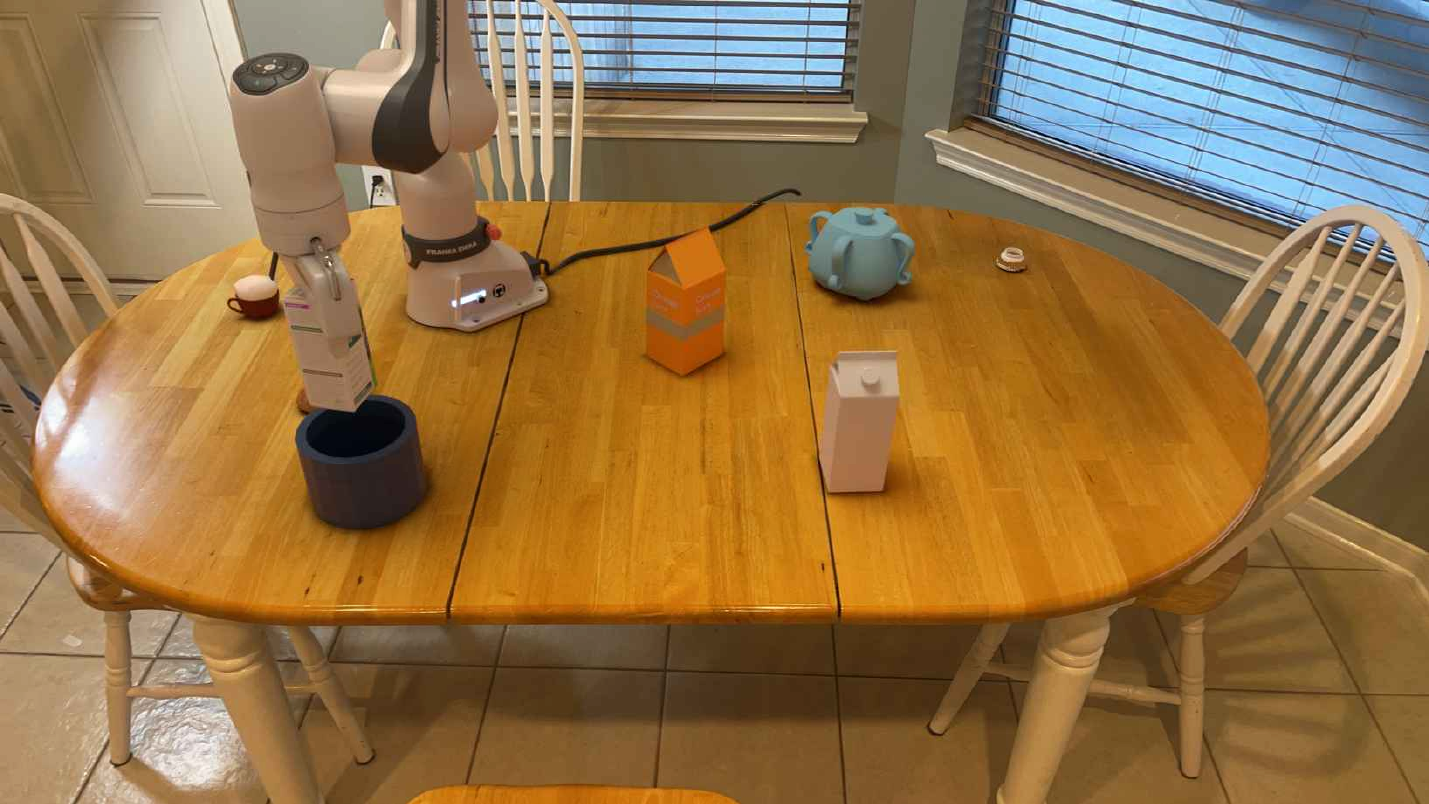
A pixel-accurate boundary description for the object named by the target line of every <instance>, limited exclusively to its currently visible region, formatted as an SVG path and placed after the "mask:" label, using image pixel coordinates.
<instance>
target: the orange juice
mask: <svg viewBox="0 0 1429 804" xmlns="http://www.w3.org/2000/svg"><path fill="white" fill-rule="evenodd" d="M708 226H709V225H707V226H704V227H702V228H699V229H700V230H699V229H697V230H698V231H696V230H694V231H695V232H693V233H691V234H689V235H686V236H684V237H682V238H679V239H677V240H675V241H673V242H668V243H665V244H664V246H662V249H661V250H660V251H659V253H658V254H657V256H656V257H655V258H654V260H653V261H652V262H651V264H650V265H649V266H648V268H647V269H646V274H645V275H646V307H645V309H646V311H645V312H646V313H645V315H646V316H645V317H646V319H645V320H646V357H647V358H649V359H651V360H653V361H654V362H656V363H658V364H660V365H661V366H663V367H665V368H667V369H668V370H671V371H672V372H673V373H676V374H677V375H679V376H681V377H684V376H686V375H687V374H689V373H691V372H693V371H695V370H697V369H698V368H700V367H702V366H703V365H705V364H707V363H709V362H711V361H712V360H715V359H717V358H718V357H720V356H721V355H723V349H724V327H725V316H726V315H725V312H726V285H727V284H726V283H727V268H726V267H725V263H724V262H723V259H722V257H721V255H720V252H719V249H718V248H717V244H716V243H715V241H714V237H713V235H712V233H711V231H710V230H709V228H708Z"/></svg>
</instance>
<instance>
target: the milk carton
mask: <svg viewBox="0 0 1429 804" xmlns="http://www.w3.org/2000/svg"><path fill="white" fill-rule="evenodd" d="M837 353H838V354H837V359H836V360H834V361H832V362H831V363H830V364H829V372H828V378H827V379H828V380H827V387H826V397H825V404H824V413H823V420H822V428H821V438H820V446H819V452H818V459H819V463H820V466H821V472H822V474H823V478H824V481H825V486H826V488H827V492H828V493H858V492H859V493H861V492H882V491H883V490H884V486H885V481H886V476H887V475H886V474H887V469H888V468H887V467H888V463H889V457H890V453H891V452H890V451H891V445H892V441H893V440H892V439H893V435H894V428H895V423H896V417H897V411H898V404H899V400H900V399H899V398H900V386H899V384H900V383H899V375H898V363H897V359H898V358H897V357H898V350H859V351H856V350H855V351H838V352H837Z"/></svg>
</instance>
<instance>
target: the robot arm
mask: <svg viewBox="0 0 1429 804" xmlns="http://www.w3.org/2000/svg"><path fill="white" fill-rule="evenodd" d="M382 4H383V9H384V12H385V16H386V17H387V19H388V21H389V22H390V24H391V26H392V27H393V30H394V32H395V34H396V37H397V41H398V44H399V47H400V49H399V48H376V49H372V50H371V51H368V52H367V53H366V54H365V55H363V56H362V57H361V58H360V60H359V61H358V63H357V65H356V67H355V68H354V70H351V69H344V68H338V67H329V66H328V67H327V66H318V65H317V66H315V65H312V64H311V63H310V62H309V60H307V58H305V57H303V56H301V55H298V54H295V53H291V52H270V53H264V54H261V55H257V56H254V57H251V58H249V59H247V60H245V61H243V62H242V63H240V65H238V66H237V67H236V68H235V69H234V70H233V71H232V73H231V77H230V83H229V95H230V110H231V118H232V124H233V129H234V134H235V139H236V145H237V148H238V153H239V157H240V160H241V163H242V164H243V167H245V169H246V171H247V173H248V175H249V179H250V200H251V205H252V208H253V213H254V217H255V221H256V225H257V229H258V233H259V236H260V241H261V244H262V245H263V246H264V247H265V248H266V249H267V250H270V251H271V252H277V254H278V256H279V258H278V259H279V260H280V262H281V264H282V266H283V268H284V269H285V271H286V273H287V274H288V276H289V278H290V280H291V281H292V283H293V285H294V286H296V285H297V286H298V287H299V289H300V290H301V292H302V293H303V295H304V296H305V298H306V302H307V306H308V308H309V310H310V311H311V313H312V315H313V316H314V318H315V320H316V321H317V323H318V325H319V327H320V328H321V330H322V332H323V333H324V335H325V337H326V338H327V341H328V345H329V349H330V352H331V354H332V355H333V357H334V358H335V359H339V358H343V357H347V356H348V355H349V354H350V350H349V345H348V339H349V337H353V336H356V335H359V334H360V333H361V329H362V324H361V319H360V314H359V310H358V306H357V301H356V297H355V293H354V289H353V286H352V282H351V279H350V278H351V276H350V272H349V271H348V268H347V266H346V264H345V263H344V261H343V260H342V259H341V257H340V255H339V254H338V253H339V252H340V251H341V249H342V244H343V243H344V242H346V241H347V239H348V238H349V237H350V236H351V233H352V228H351V222H350V216H349V212H348V207H347V202H346V196H345V191H344V186H343V183H342V181H341V179H340V178H339V175H338V173H337V171H336V166H335V165H336V164H341V165H353V166H363V167H374V168H382V169H384V170H389V171H391V172H392V175H393V178H394V182H395V185H396V186H395V187H396V190H397V191H396V192H397V196H398V202H399V208H400V214H401V218H402V224H401V227H400V230H401V244H402V251H403V255H404V259H405V261H406V263H407V271H408V272H407V273H408V274H407V275H408V281H407V282H408V283H407V297H406V302H405V312H406V314H407V315H408V317H410V318H411V319H412V320H414V321H415V322H417V323H419V324H422V325H426V326H429V327H435V328H449V329H456V330H459V331H464V332H468V333H471V332H476V331H479V330H480V329H484V328H486V327H488V326H491V325H493V324H496V323H499V322H501V321H503V320H506V319H508V318H512V317H513V316H516V315H519V314H521V313H523V312H524V313H525V312H527V311H529V310H532V309H534V308H537V307H538V306H541V305H544V304H546V303H547V302H548V299H549V292H548V287H547V285H546V284H545V282H544V281H543V279H542V278H540V276H541V275H542V265H544V267H543V272H544V273H545V274H546V275H549V276H551V275H553V274H555V273H557V272H558V271H559V270H561V269H563V268H565V267H566V266H567V265H569V264H570V263H571V262H573V261H575V260H577V259H580V258H584V257H588V256H594V255H599V254H609V253H616V252H622V251H629V250H635V249H642V248H647V247H652V246H658V245H662V244H668V243H670V242H673V241H675V240H677V239H679V238H682V237H684V236H686V235H689V234H691V233H693V232H695V231H698V230H700V229H701V228H699V229H696V230H692V231H689V232H686V233H682V234H679V235H674V236H670V237H669V236H668V237H664V238H659V239H655V240H654V239H653V240H648V241H644V242H638V243H637V242H636V243H631V244H623V245H617V246H610V247H604V248H603V247H602V248H595V249H588V250H583V251H579V252H576V253H573V254H571V255H569V256H568V257H567V258H565V260H563V261H562V262H561V263H560V264H559V265H558V266H556V267H555V268H553V269H551V268H550V266H551V264H550V261H549V260H547V259H545V258H536V257H534V256H533V255H531V254H530V253H528V251H526V250H522V251H520V252H519V251H518V250H517V249H516V248H515V247H513V246H512V245H511V244H508V243H506V242H504V241H501V238H502V236H503V232H502V230H501V228H499V227H498V226H497V225H495V224H493V223H492V224H491V223H490V221H489V220H488V219H487V218H485V217H483V216H482V215H481V214H479V213H478V211H477V202H476V193H475V184H474V176H473V174H472V171H471V169H470V167H469V165H468V164H467V162H466V161H465V159H464V158H463V156H462V155H461V153H462V154H463V153H464V154H469V153H474V152H477V151H479V150H481V149H483V148H484V147H485V146H486V145H487V144H488V143H489V142H490V141H491V140H492V138H493V136H494V135H495V132H496V130H497V126H498V123H499V107H498V104H497V100H496V98H495V96H494V94H493V93H492V92H491V90H490V89H489V87H488V85H487V83H486V81H485V80H484V77H483V75H482V73H481V69H480V66H479V63H478V59H477V56H476V52H475V51H476V50H475V47H474V43H473V37H472V34H471V33H472V32H471V26H470V15H469V0H382ZM785 194H794V195H796V196H798V197H800V196H802V192H801V191H799V190H798V189H796V188H792V187H791V188H790V187H789V188H783V189H780V190H777V191H775V192H773V193H771V194H769V195H766V196H762V197H760V198H759V199H757V200H756V201H754V202H752V204H759V205H761V204H763V203H765V202H767V201H770V200H772V199H774V198H777V197H779V196H782V195H785ZM759 205H753V206H752V205H751V204H749V205H748V206H747V207H745V208H743V209H742V210H740V211H737V212H736V213H735V214H733V215H732V214H731V215H730V216H729V217H727V218H724V219H722V220H720V221H718V222H715V223H713V224H710V225H707V226H708V228H709V230H710V232H711V231H713V230H715V229H718V228H721V227H723V226H725V225H727V224H729V223H731V222H733V221H735V220H736V219H739V218H740V217H742V216H744V215H746V214H747V213H749V212H751V211H752V210H754V209H756V207H758V206H759ZM749 207H750V208H749ZM340 298H341V299H340ZM335 299H336V300H339V299H340V300H339V301H336V300H335Z"/></svg>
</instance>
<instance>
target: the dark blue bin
mask: <svg viewBox="0 0 1429 804" xmlns="http://www.w3.org/2000/svg"><path fill="white" fill-rule="evenodd" d="M420 439H421V438H420V434H419V428H418V422H417V416H416V414H415V413H414V411H413V409H412V408H411V406H410V405H408V404H407V403H405V402H403V401H402V400H401V399H398V398H394V397H391V396H387V395H383V394H371V393H370V394H369V395H368V396H367V398H366V399H365V400H364V401H363V402H362V403H361V404H360V406H359V407H358V408H357V410H356V411H355V412H348V411H341V410H334V409H327V408H321V407H319V408H317V409H315V410H314V411H312V412H311V413H309V414H307V415H306V416H305V417H304V418H303V419H302V420H301V421H300V423H299V425H298V426H297V428H296V430H295V438H294V442H295V446H296V450H297V454H298V457H299V462H300V464H301V469H302V473H303V477H304V481H305V485H306V489H307V493H308V496H309V500H310V503H311V506H312V509H313V512H315V514H316V515H317V516H318V518H319V519H321V520H322V521H323V522H325V523H327V524H329V525H332V526H334V527H337V528H342V529H348V530H365V529H372V528H377V527H382V526H384V525H388V524H391V523H393V522H395V521H398V520H400V519H402V518H404V517H405V516H406V515H408V514H409V513H410V512H412V511H413V510H415V509H416V507H418V505H419V504H420V503H421V502H422V500H423V498H424V497H425V494H426V492H427V476H426V468H425V462H424V456H423V450H422V443H421V440H420Z"/></svg>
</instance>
